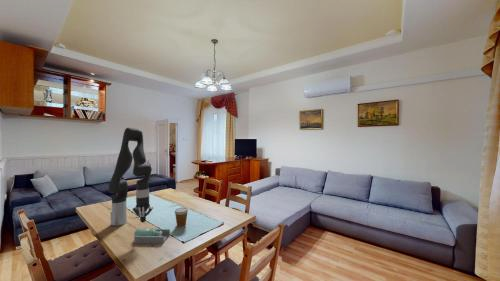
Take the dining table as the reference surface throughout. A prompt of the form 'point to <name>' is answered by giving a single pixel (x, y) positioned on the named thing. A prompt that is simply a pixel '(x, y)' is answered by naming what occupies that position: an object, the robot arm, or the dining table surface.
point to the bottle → (147, 232)
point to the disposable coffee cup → (181, 216)
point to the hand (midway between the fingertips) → (143, 221)
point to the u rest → (153, 237)
